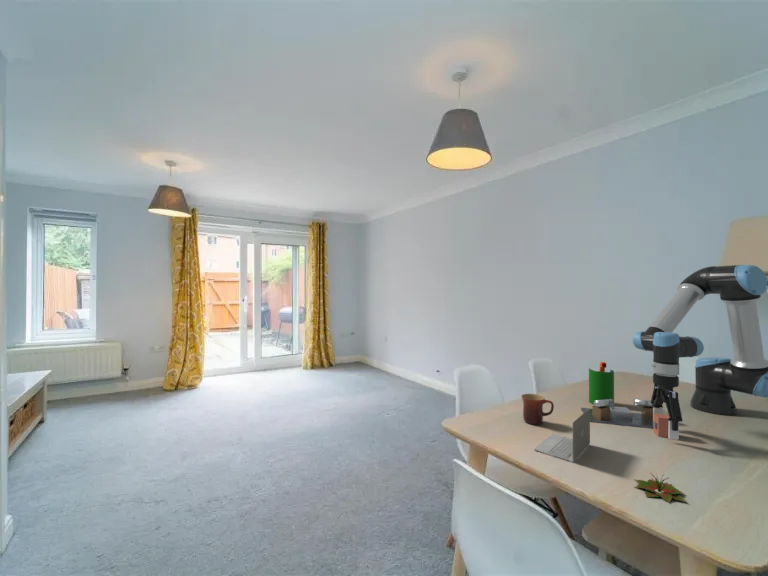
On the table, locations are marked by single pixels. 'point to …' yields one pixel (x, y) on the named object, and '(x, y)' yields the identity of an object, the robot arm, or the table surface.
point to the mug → (534, 408)
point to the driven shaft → (602, 409)
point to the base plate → (628, 415)
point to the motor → (601, 384)
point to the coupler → (661, 425)
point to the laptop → (569, 441)
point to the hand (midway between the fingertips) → (665, 431)
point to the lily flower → (660, 489)
